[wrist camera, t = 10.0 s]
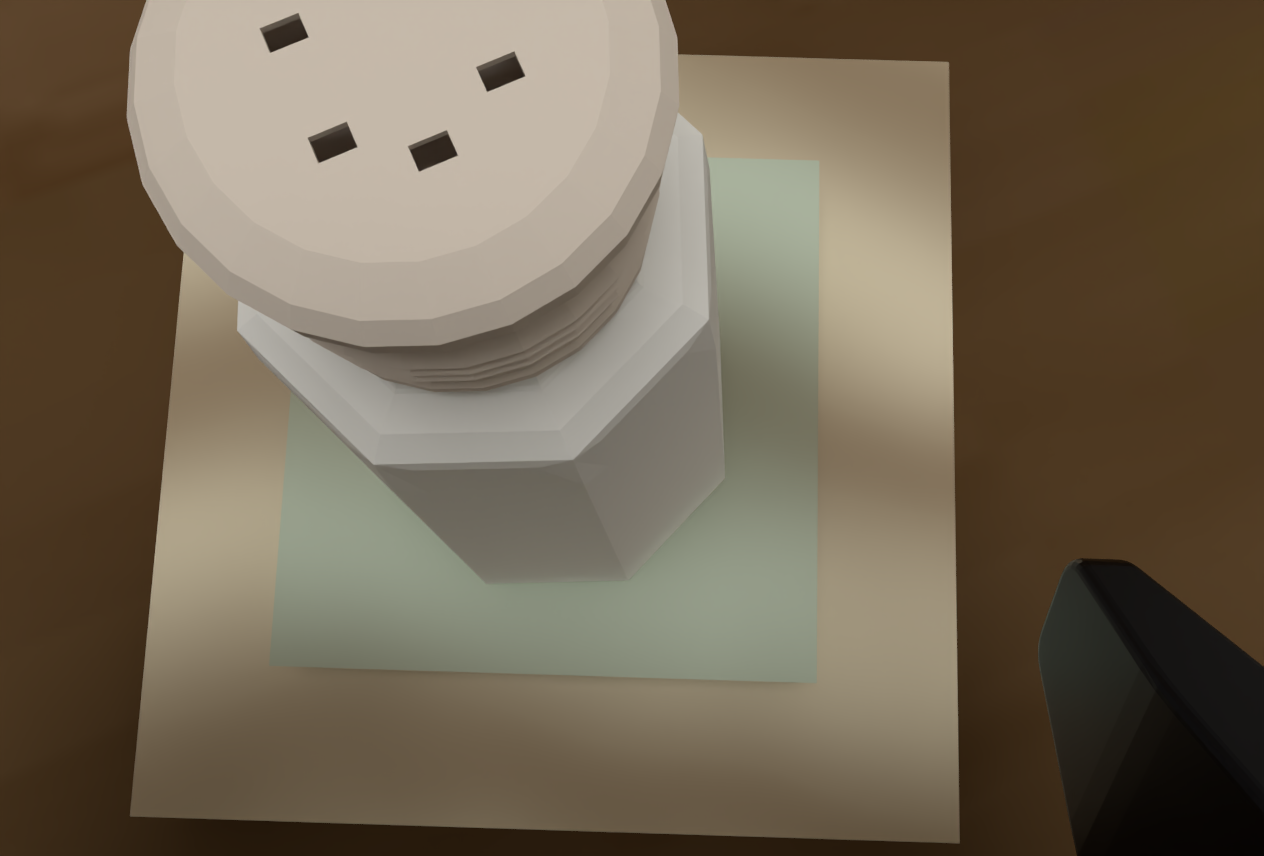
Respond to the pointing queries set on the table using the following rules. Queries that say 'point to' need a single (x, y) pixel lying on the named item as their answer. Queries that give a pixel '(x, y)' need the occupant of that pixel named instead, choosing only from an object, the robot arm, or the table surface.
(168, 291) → the table surface
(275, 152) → the salt shaker
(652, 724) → the plinth
